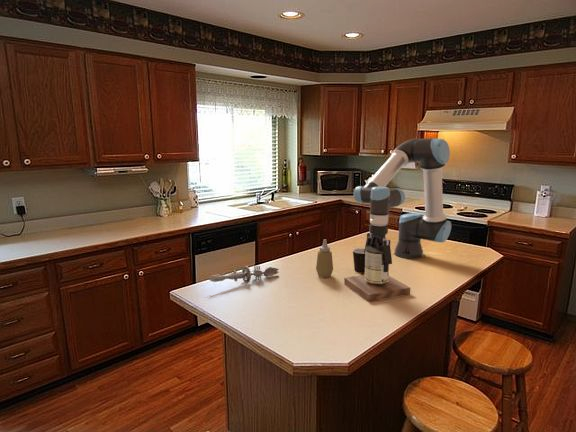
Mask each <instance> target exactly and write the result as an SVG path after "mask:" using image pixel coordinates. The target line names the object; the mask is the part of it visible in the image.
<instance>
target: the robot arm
mask: <svg viewBox="0 0 576 432" xmlns="http://www.w3.org/2000/svg"><path fill="white" fill-rule="evenodd" d="M450 151H451V150H450V147H449V143H448V142H447V141H446V140H445V139H443V138H438V137H437V138H434V137H433V138H431V137H430V138H411V139H408V140H406V141H404V142H402V143H401V144H399V145H398V146H397V147H395V148H394V149H393V151H391V153H390V156H389V158H388V159H387V160H386V161H385V162H384V163H383V165H381V167H380V168H378V170H377V171H376V172H375V173H374V174H373V175H372V177H371V178H370V179H369V180H368V181H367V182H366V183H365V184H364V185H360V186H359V185H357V186H356V187H355V188H354V190H353V196H352V197H353V200H354V201H355V202H357V203H361V204H366V205H367V204H368V205H369V206H370V211H369V223H370V224H369V228H368V229H369V230H368V231H369V232H368V233H366V240H365V246H364V248H365V247H366V246H369V245H370V246H371V247H374V246H377V247H378V249H379V251H384V254H382V262H383V263H382V264H381V279H387V274H388V265H389V266H390V265H393V257H392V251H391V240H390V239H386V235H387V234H388V233H389V232H388V231H389V225H388V224H389V218H390V217H389V215H390V214H389V213H390V211H389V210H390V208H396V207H399V206H402V204H403V203H404V202H405V200H406V194H405V192H404V191H403V190H402V189H400V188H392V189H391V188H390V187H387V185H388V184H389V183H390V182H391V181H392V180H393V178H394V177H395V176H396V175H397V174H398V173H399V171H400V170H401V169H402V168H403V167H406V166H407V165H408V164H411V163H416V164H417V163H418V164H419V168H420V170H422V171H423V172H422V173H423V193H424V194H423V195H424V198H423V199H424V212H425V213H424V214H422V213H418V212H417V213H416V212H414V213H413V212H410V213H404V214H402V215H400V216H399V221H398V240H397V243H396V245H395V248H394V255H395V256H396V257H398V258H403V259H410V260H414V259H420V258H423V256H424V251H423V247H422V244H421V240H424V241H425V240H426V241H430V242H434V243H445V242H446V241H447V240H448V238H449V236H450V233H451V230H452V222H451V221H450V220H447V215H446V213H444V198H443V197H444V196H443V169H444V167H445V166H446V164H447V163H449V160H450V156H451V155H450V154H451V152H450ZM364 253H365V250H364Z"/></svg>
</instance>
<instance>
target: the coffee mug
mask: <svg viewBox="0 0 576 432" xmlns="http://www.w3.org/2000/svg"><path fill="white" fill-rule="evenodd" d="M364 250H365V248H362V247H360V248H354V249H352V256H353V268H354V269H353V270H354V271H355V272H357V273H360V274H365V253H364Z"/></svg>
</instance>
